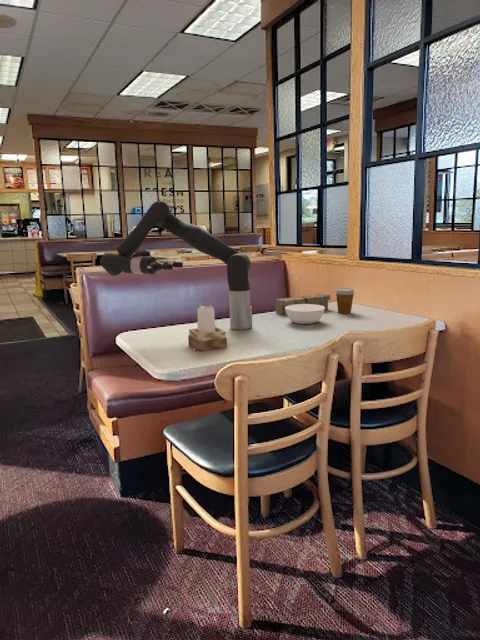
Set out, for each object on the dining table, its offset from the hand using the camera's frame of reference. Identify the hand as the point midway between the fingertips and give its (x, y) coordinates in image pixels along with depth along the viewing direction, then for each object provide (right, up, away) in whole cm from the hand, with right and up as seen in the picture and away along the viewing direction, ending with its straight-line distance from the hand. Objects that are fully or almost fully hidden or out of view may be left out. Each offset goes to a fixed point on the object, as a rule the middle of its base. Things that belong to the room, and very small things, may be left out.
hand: (177, 265), depth 200 cm
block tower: (+59, -18, +55) cm, 82 cm away
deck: (+13, -33, -11) cm, 37 cm away
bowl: (+56, -24, +28) cm, 67 cm away
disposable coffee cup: (+79, -19, +48) cm, 94 cm away
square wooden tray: (+13, -29, -12) cm, 34 cm away
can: (+13, -29, -12) cm, 34 cm away
